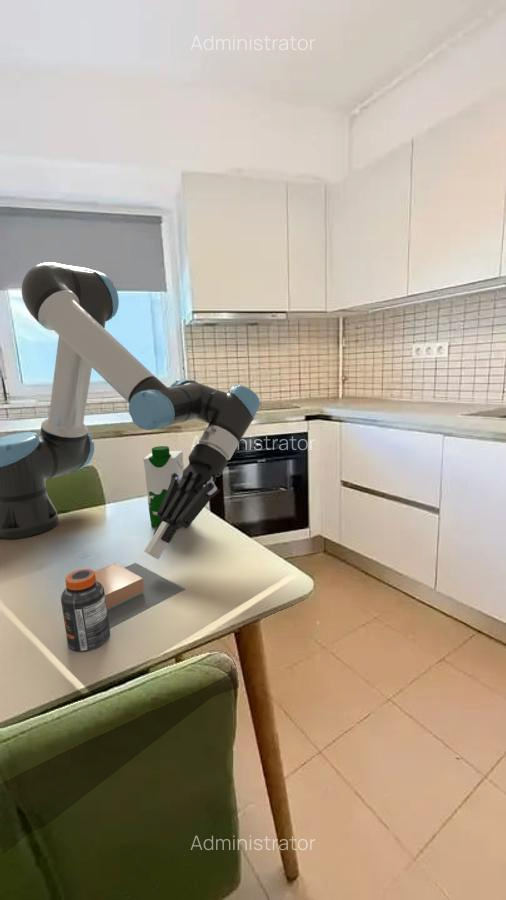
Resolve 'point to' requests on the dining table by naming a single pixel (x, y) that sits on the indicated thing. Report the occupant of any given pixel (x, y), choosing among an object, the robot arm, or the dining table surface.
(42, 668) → the dining table surface
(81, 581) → the pill bottle
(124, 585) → the tile
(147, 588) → the mat
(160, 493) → the milk carton
